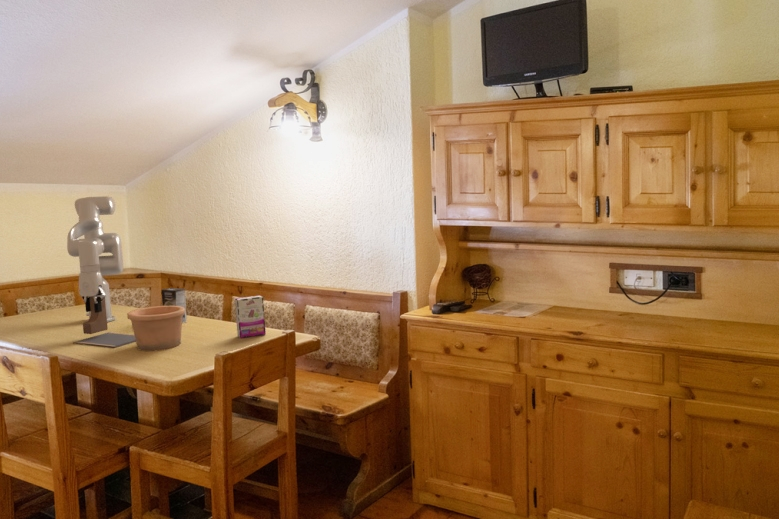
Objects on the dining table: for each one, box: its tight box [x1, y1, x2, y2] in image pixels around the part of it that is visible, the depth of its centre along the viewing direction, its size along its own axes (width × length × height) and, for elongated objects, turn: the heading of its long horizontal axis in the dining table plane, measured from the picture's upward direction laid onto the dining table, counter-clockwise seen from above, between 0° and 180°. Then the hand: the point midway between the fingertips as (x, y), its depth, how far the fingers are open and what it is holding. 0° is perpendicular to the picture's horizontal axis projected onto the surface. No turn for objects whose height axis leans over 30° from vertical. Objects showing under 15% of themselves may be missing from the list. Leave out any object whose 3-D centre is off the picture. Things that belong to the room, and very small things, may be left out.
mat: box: [72, 331, 136, 349], centre depth 270 cm, size 24×18×1 cm
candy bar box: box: [234, 295, 266, 339], centre depth 270 cm, size 11×5×16 cm, turn 117°
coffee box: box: [161, 287, 188, 324], centre depth 301 cm, size 9×6×16 cm
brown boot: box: [82, 295, 109, 335], centre depth 273 cm, size 9×4×18 cm, turn 155°
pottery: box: [126, 305, 185, 352], centre depth 258 cm, size 22×22×14 cm
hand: (93, 311), depth 273 cm, fingers closed on brown boot, 4 cm apart
